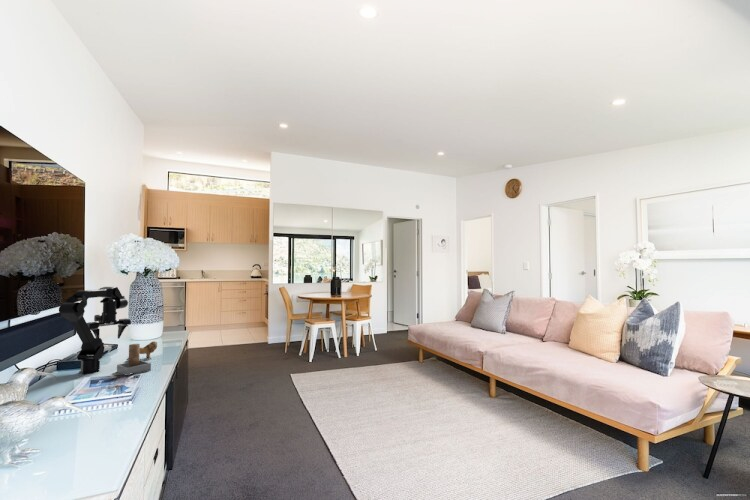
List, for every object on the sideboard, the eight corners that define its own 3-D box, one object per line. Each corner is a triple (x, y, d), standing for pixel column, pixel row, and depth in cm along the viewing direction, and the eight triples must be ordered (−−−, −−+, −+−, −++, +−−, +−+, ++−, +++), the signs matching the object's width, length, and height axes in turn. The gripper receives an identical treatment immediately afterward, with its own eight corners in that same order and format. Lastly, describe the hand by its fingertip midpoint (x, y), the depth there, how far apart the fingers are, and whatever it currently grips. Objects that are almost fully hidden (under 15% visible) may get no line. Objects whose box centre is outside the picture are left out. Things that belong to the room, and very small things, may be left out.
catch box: (126, 375, 170) (126, 368, 171) (116, 371, 176) (117, 364, 177) (150, 370, 179) (150, 363, 179) (140, 366, 185) (141, 359, 186)
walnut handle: (126, 371, 175) (127, 346, 175) (129, 369, 179) (129, 344, 180) (138, 370, 177) (139, 345, 177) (140, 368, 181) (141, 343, 181)
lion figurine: (155, 355, 208) (156, 340, 208) (158, 357, 204) (158, 341, 204) (125, 360, 198) (125, 343, 198) (127, 362, 194) (127, 345, 194)
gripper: (123, 307, 202) (122, 335, 201) (82, 311, 186) (81, 341, 186) (131, 309, 196) (130, 337, 195) (90, 312, 180) (89, 344, 180)
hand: (108, 340), depth 189 cm, fingers open, 9 cm apart
